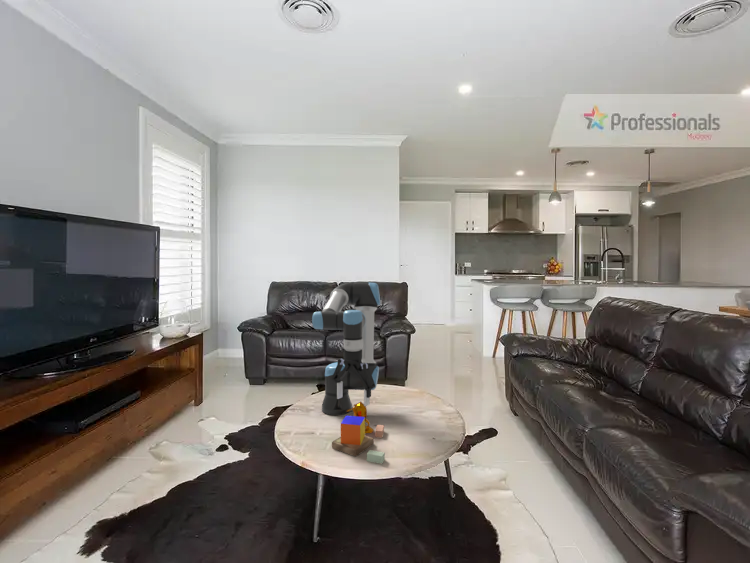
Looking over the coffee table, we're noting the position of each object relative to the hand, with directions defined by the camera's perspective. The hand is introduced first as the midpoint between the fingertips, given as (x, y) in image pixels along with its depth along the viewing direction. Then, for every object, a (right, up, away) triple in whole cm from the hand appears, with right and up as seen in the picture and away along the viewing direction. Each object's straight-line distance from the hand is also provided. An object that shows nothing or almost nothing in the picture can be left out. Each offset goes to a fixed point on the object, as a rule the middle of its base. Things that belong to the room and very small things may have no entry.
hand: (353, 401), depth 156 cm
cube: (0, -16, +1) cm, 16 cm away
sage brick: (+9, -19, -10) cm, 24 cm away
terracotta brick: (+11, -18, +12) cm, 24 cm away
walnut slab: (0, -18, +1) cm, 18 cm away
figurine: (+3, -18, +16) cm, 24 cm away
